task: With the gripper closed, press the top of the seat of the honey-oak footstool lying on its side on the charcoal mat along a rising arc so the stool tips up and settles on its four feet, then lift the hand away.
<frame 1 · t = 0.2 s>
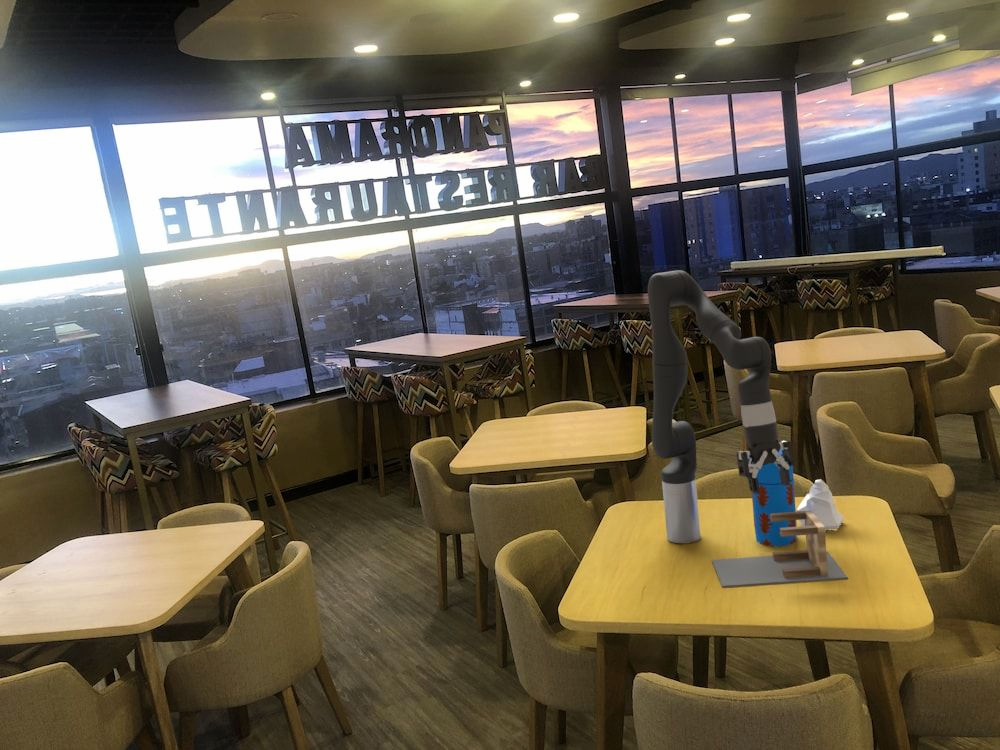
hand: (770, 489, 190), 23 cm above the table, tool pointing down, fingers open, 8 cm apart
stool: (815, 542, 197), point 6 cm above the table, touching mat
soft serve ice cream: (820, 524, 226), on the table
mat: (776, 569, 199), on the table
thermos: (776, 539, 218), on the table
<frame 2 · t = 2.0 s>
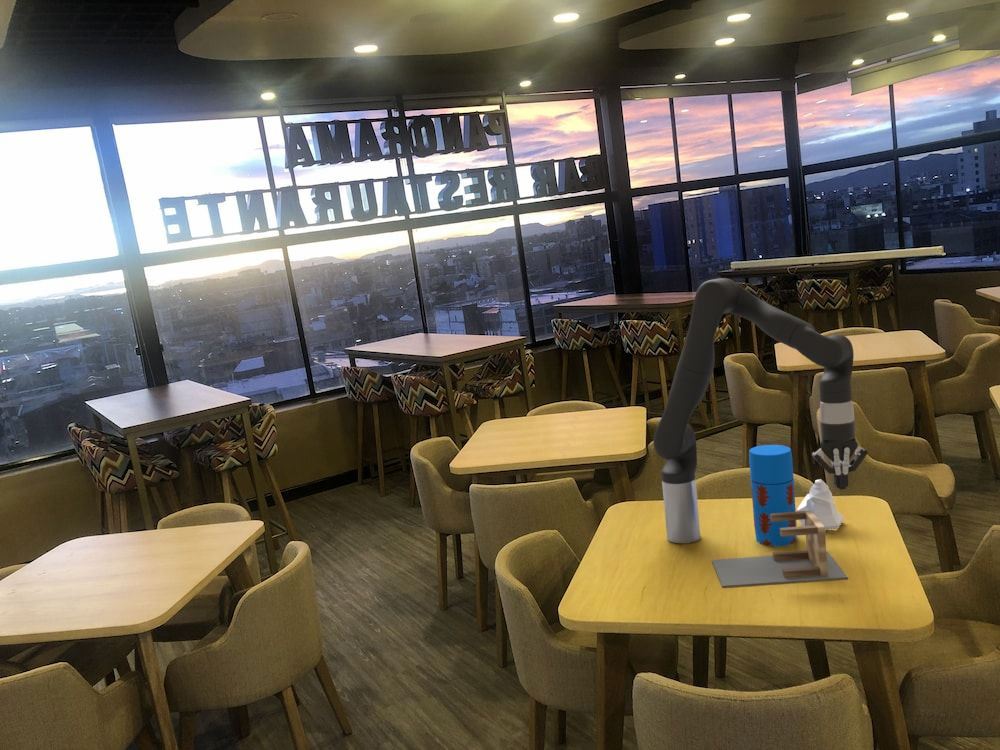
hand: (841, 488, 194), 19 cm above the table, tool pointing down, fingers closed
nothing on the table moved.
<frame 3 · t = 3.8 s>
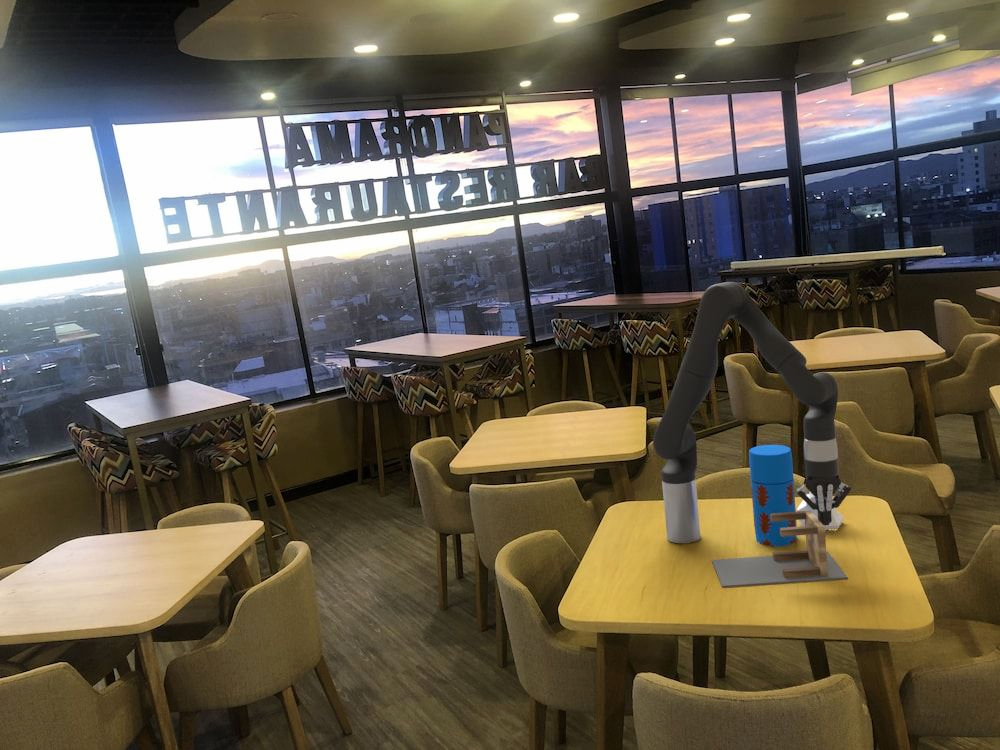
hand: (824, 524, 196), 11 cm above the table, tool pointing down, fingers closed
stool: (815, 542, 197), point 6 cm above the table, touching gripper, mat
everything else where it was.
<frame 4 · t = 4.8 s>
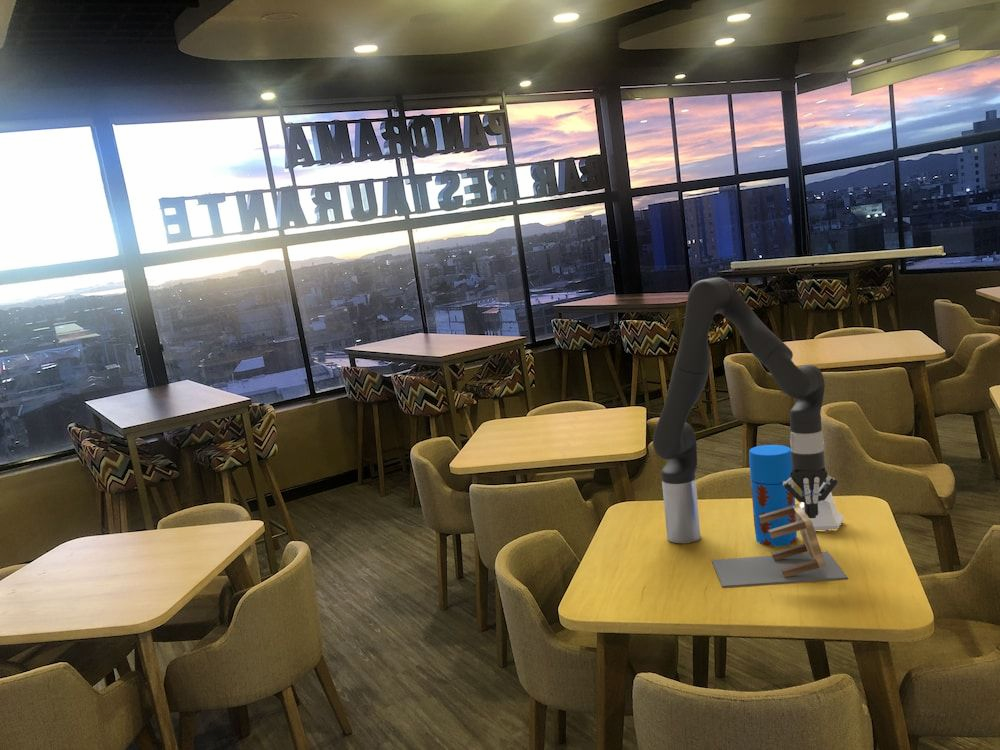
hand: (811, 517, 196), 13 cm above the table, tool pointing down, fingers closed
stool: (808, 535, 197), point 8 cm above the table, tilted 13°, touching gripper, mat
everything else where it was.
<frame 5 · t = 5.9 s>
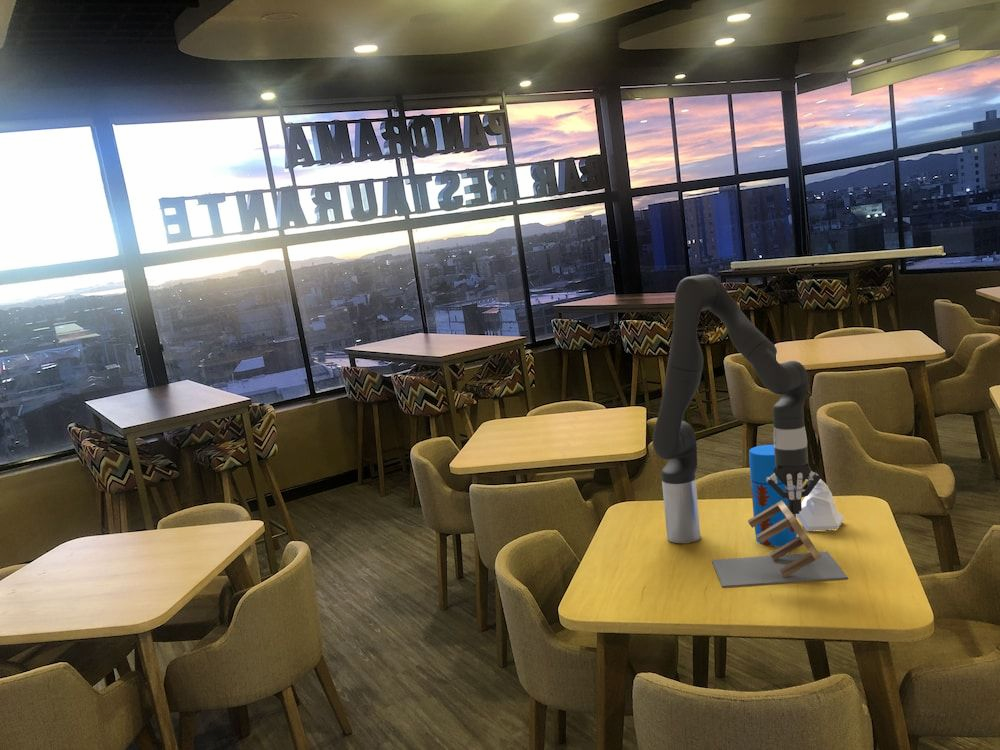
hand: (795, 512, 197), 14 cm above the table, tool pointing down, fingers closed
stool: (798, 529, 197), point 10 cm above the table, tilted 28°, touching gripper, mat
everything else where it was.
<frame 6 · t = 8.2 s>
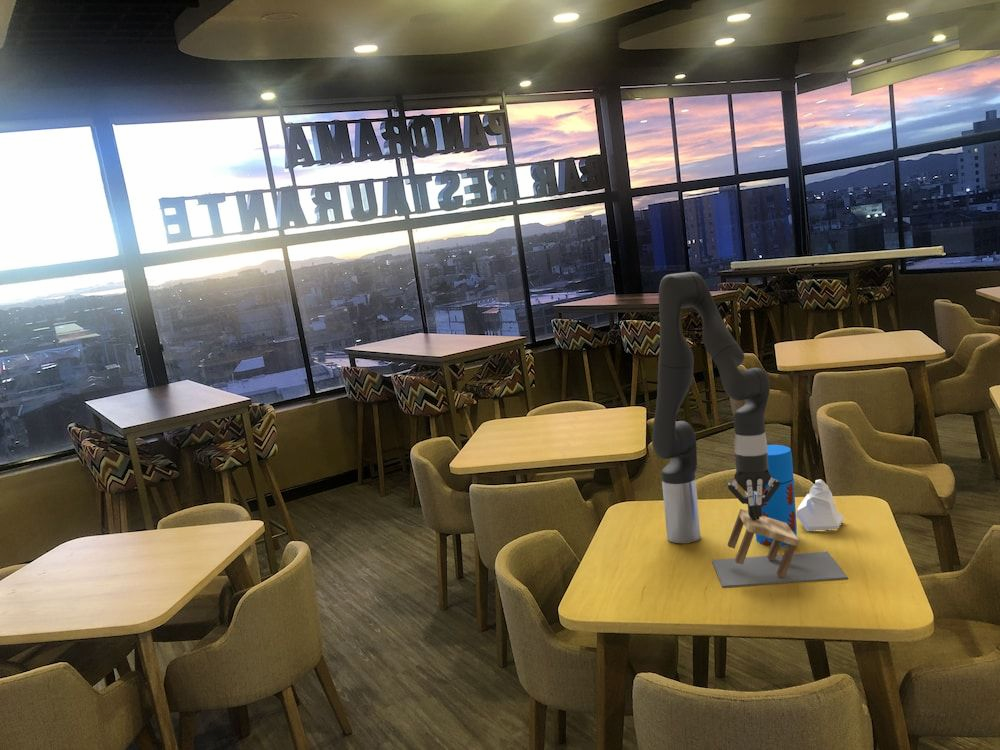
hand: (755, 518, 198), 14 cm above the table, tool pointing down, fingers closed
stool: (767, 526, 198), point 11 cm above the table, tilted 67°, touching gripper, mat
everything else where it was.
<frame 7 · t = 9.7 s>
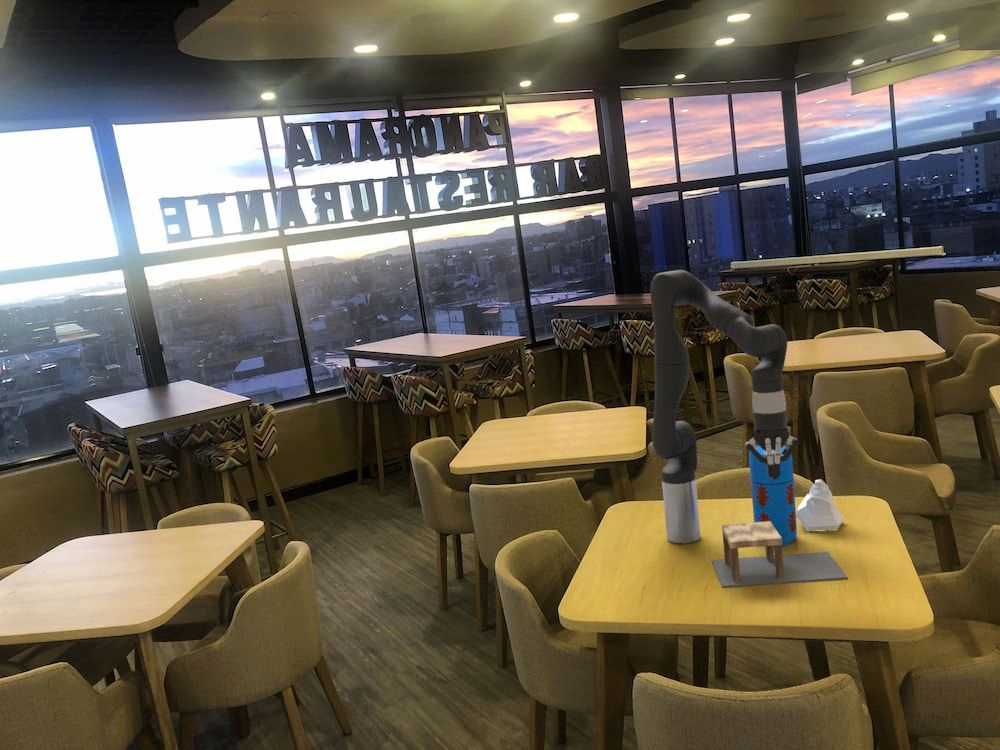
hand: (773, 478, 195), 24 cm above the table, tool pointing down, fingers closed
stool: (751, 534, 199), point 10 cm above the table, tilted 90°, touching mat
everything else where it was.
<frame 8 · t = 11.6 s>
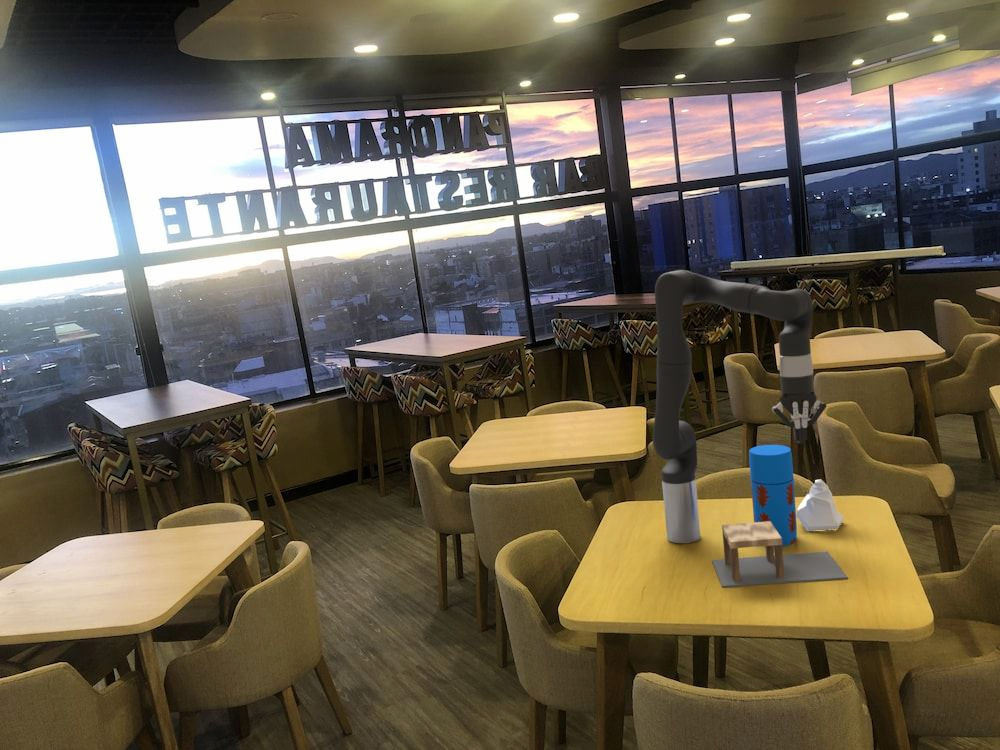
hand: (800, 442, 197), 31 cm above the table, tool pointing down, fingers closed
nothing on the table moved.
at the end: stool inside the target area (0.2 cm from its centre), point 9.6 cm above the table; stool tilted 90° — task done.
